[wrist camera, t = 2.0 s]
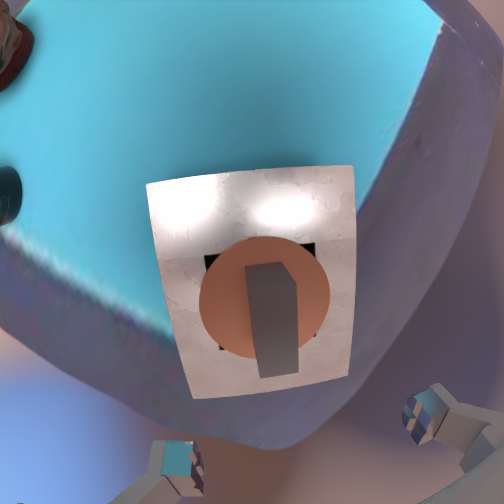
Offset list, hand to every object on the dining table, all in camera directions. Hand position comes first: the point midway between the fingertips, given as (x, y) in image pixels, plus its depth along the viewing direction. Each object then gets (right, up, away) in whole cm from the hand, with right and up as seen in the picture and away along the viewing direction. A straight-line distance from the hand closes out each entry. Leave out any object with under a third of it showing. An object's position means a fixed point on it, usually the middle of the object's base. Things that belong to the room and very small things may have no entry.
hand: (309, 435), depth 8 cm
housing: (-2, +5, +18) cm, 19 cm away
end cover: (-2, +4, +17) cm, 17 cm away
